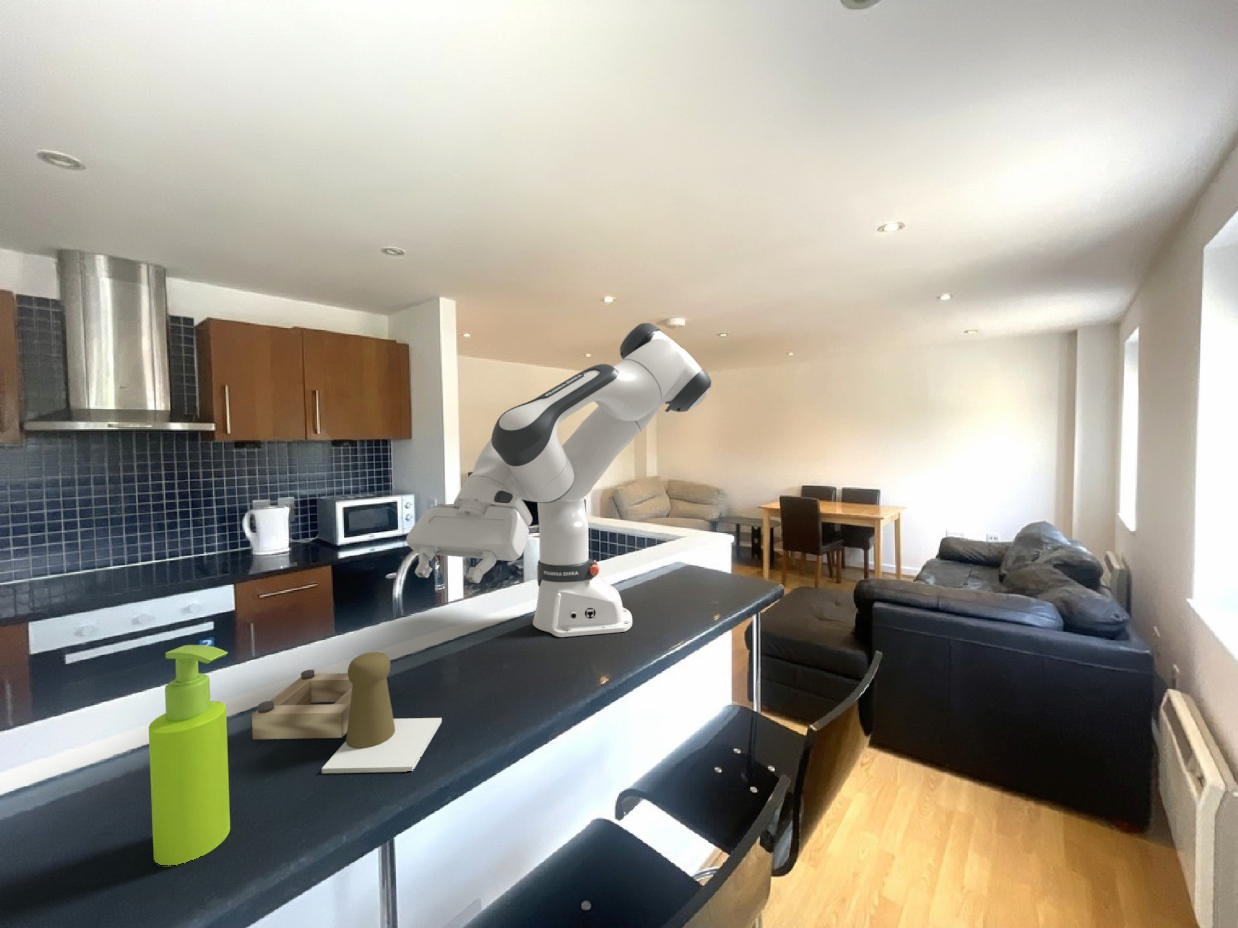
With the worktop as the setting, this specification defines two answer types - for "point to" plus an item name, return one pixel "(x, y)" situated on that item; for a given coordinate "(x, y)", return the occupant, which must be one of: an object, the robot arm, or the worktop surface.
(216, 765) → the soap dispenser
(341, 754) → the white mat
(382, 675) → the brown pawn
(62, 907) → the worktop surface
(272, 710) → the sleeve block
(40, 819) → the worktop surface
